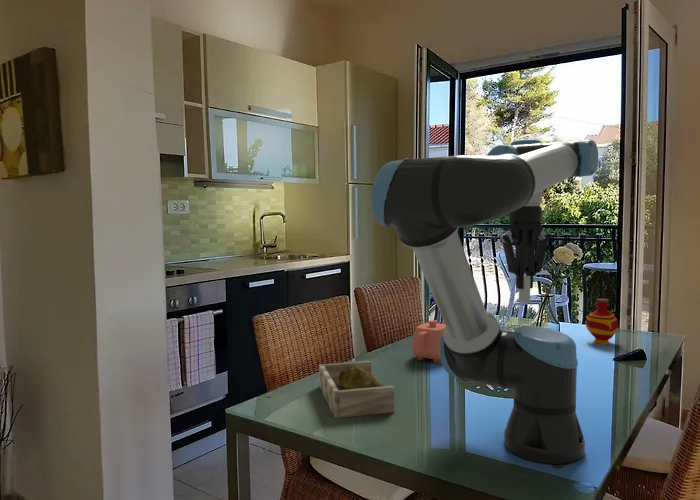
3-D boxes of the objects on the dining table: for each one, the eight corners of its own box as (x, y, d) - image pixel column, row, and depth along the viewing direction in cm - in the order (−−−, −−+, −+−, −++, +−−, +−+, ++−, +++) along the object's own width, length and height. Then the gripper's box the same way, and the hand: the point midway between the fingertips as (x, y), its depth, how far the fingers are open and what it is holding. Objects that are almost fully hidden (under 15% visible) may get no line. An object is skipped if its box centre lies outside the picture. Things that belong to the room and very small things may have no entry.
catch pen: (394, 412, 127) (394, 387, 127) (334, 418, 124) (334, 392, 124) (370, 381, 149) (370, 360, 149) (319, 386, 146) (318, 364, 146)
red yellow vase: (619, 340, 189) (620, 298, 187) (616, 347, 180) (617, 303, 179) (587, 337, 194) (588, 296, 193) (582, 343, 186) (583, 300, 184)
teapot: (437, 368, 160) (437, 328, 159) (402, 362, 167) (402, 324, 166) (464, 352, 177) (464, 316, 176) (431, 347, 184) (430, 312, 182)
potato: (363, 412, 128) (363, 379, 127) (334, 396, 138) (333, 366, 138) (391, 404, 132) (391, 372, 132) (360, 390, 143) (360, 360, 142)
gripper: (541, 204, 136) (539, 298, 138) (493, 205, 133) (492, 300, 135) (558, 204, 128) (557, 303, 130) (508, 205, 126) (507, 306, 128)
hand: (524, 301), depth 133 cm, fingers closed
